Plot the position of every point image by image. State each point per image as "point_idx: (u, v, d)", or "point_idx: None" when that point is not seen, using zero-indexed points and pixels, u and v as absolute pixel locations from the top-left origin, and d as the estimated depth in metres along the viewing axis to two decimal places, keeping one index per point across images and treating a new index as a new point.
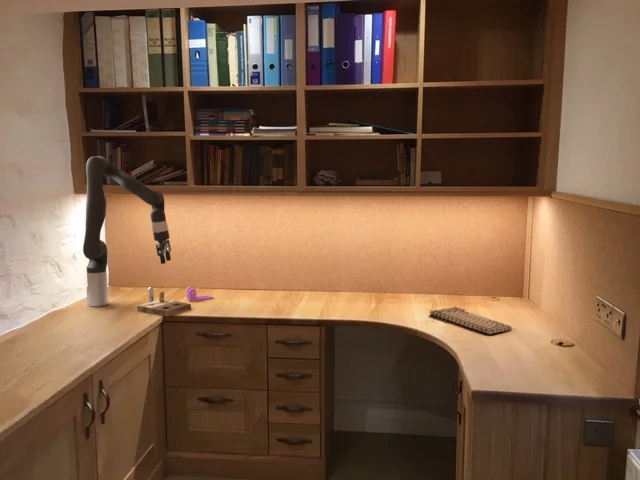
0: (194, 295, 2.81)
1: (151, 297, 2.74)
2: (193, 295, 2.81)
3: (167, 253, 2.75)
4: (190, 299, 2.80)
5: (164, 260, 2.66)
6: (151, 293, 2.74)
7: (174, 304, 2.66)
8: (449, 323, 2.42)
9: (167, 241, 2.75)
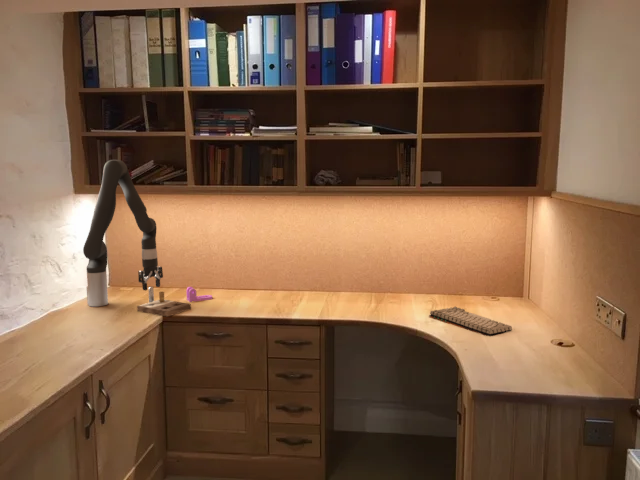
0: (194, 295, 2.81)
1: (151, 297, 2.74)
2: (193, 295, 2.80)
3: (157, 279, 2.77)
4: (190, 299, 2.80)
5: (145, 287, 2.70)
6: (151, 293, 2.74)
7: (174, 304, 2.66)
8: (449, 323, 2.42)
9: (159, 268, 2.77)
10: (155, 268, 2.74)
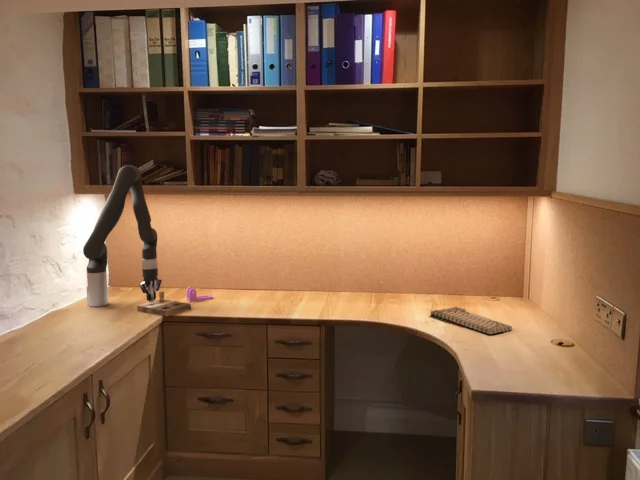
0: (194, 295, 2.81)
1: (151, 297, 2.74)
2: (193, 295, 2.80)
3: None
4: (190, 299, 2.80)
5: (149, 298, 2.73)
6: (151, 293, 2.74)
7: (174, 304, 2.66)
8: (450, 323, 2.42)
9: (159, 280, 2.78)
10: (156, 277, 2.75)
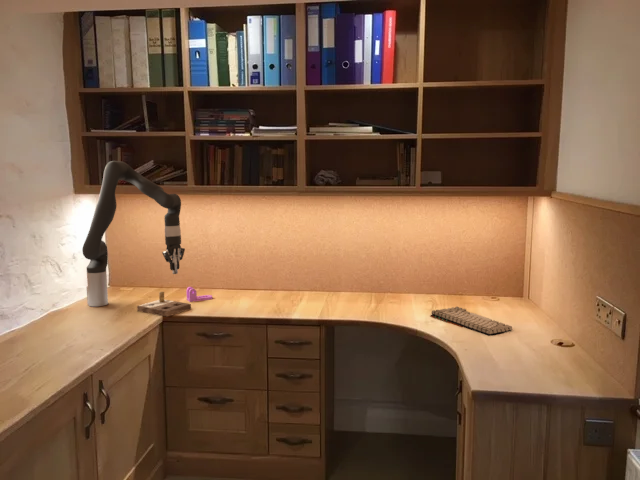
0: (194, 295, 2.81)
1: (175, 266, 2.62)
2: (193, 295, 2.80)
3: None
4: (190, 299, 2.80)
5: (173, 267, 2.61)
6: (175, 262, 2.62)
7: (174, 304, 2.66)
8: (450, 323, 2.42)
9: (182, 249, 2.66)
10: (179, 245, 2.63)
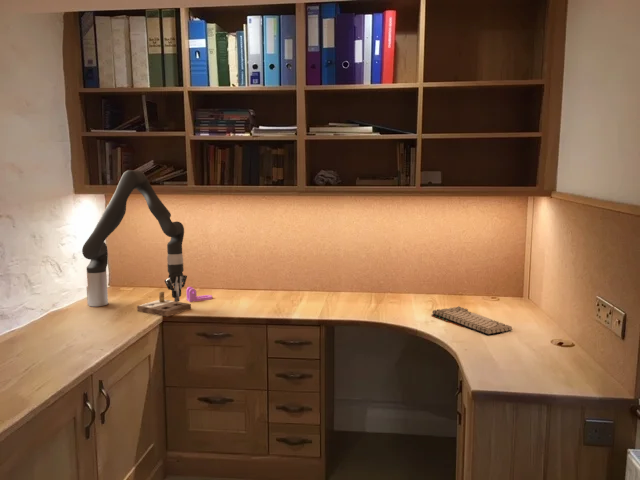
0: (194, 295, 2.81)
1: (177, 294, 2.63)
2: (193, 295, 2.80)
3: None
4: (190, 299, 2.80)
5: (175, 295, 2.62)
6: (177, 289, 2.62)
7: (174, 304, 2.66)
8: (450, 322, 2.43)
9: (184, 276, 2.67)
10: (181, 273, 2.64)
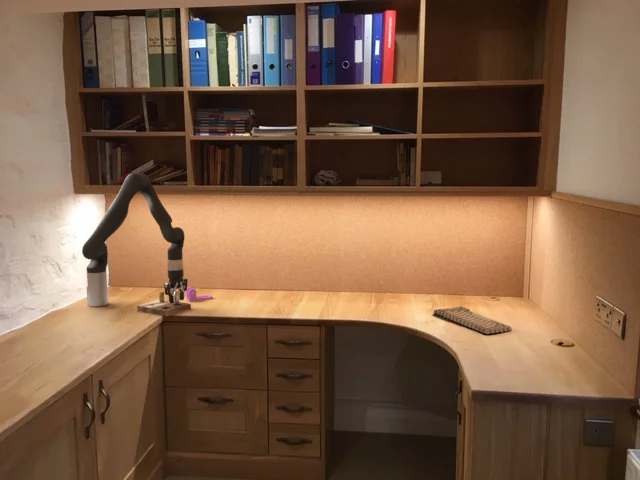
0: (194, 295, 2.81)
1: (177, 302, 2.63)
2: (193, 295, 2.80)
3: (181, 292, 2.67)
4: (190, 299, 2.80)
5: (172, 300, 2.60)
6: (177, 298, 2.63)
7: None
8: (450, 322, 2.43)
9: (185, 280, 2.68)
10: (181, 279, 2.64)
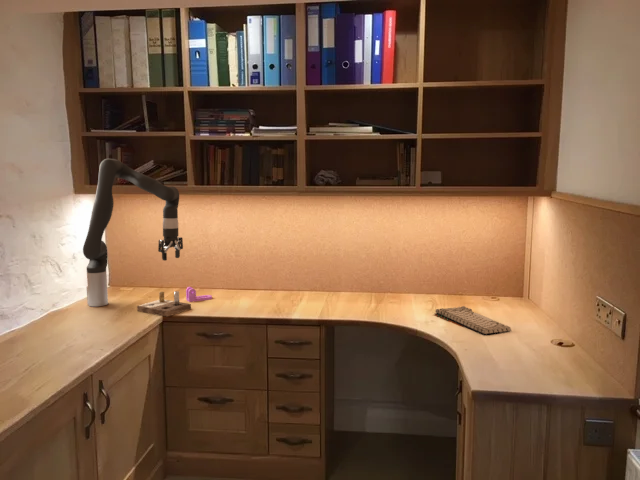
0: (194, 295, 2.81)
1: (177, 302, 2.63)
2: (193, 295, 2.80)
3: (177, 250, 2.71)
4: (190, 299, 2.80)
5: (165, 257, 2.64)
6: (177, 298, 2.63)
7: None
8: None
9: (179, 238, 2.71)
10: (175, 238, 2.68)
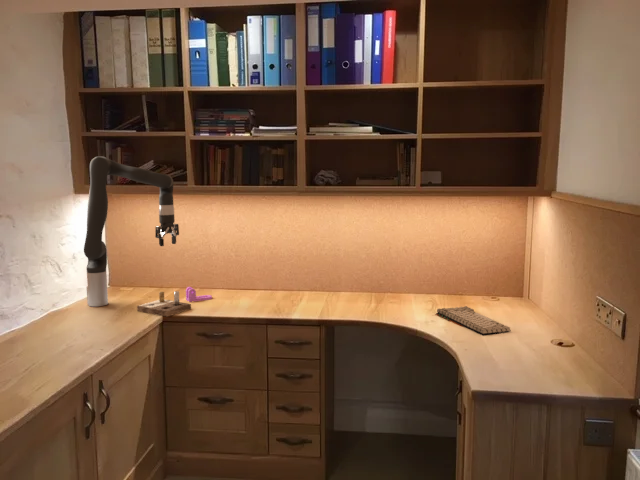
0: (194, 295, 2.81)
1: (177, 302, 2.63)
2: (193, 295, 2.80)
3: (173, 236, 2.79)
4: (190, 299, 2.80)
5: (162, 243, 2.71)
6: (177, 298, 2.63)
7: None
8: (451, 321, 2.45)
9: (176, 225, 2.79)
10: (172, 225, 2.76)
